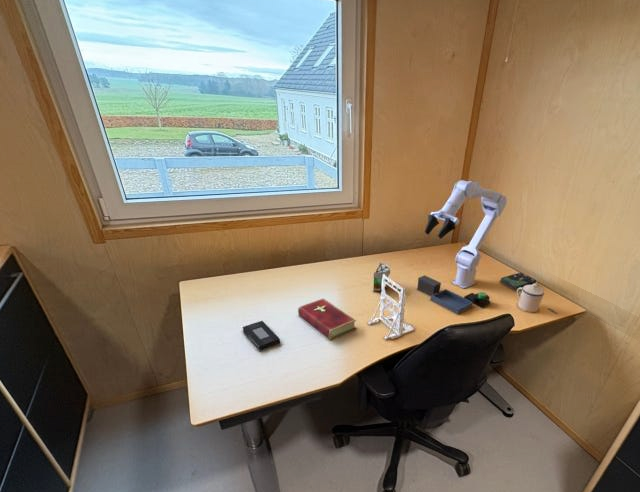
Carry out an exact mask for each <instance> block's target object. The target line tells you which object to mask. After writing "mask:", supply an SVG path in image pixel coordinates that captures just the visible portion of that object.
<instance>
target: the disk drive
mask: <svg viewBox="0 0 640 492" xmlns="http://www.w3.org/2000/svg"><path fill="white" fill-rule="evenodd" d="M499 282H500V283H501V284H502V285H504V286H506V287H508V288H510V289H512V290H514V291H517V289H518V288H520V287H522V288H523V287H524V286H525V285H533V284H534V283H535V284H537V279H534V278H533V277H531V276H529V275H525V274H524V273H522V272H516V273H513V274H510V275H507V276H502V277H501V278H500V281H499Z"/></svg>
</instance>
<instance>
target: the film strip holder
mask: <svg viewBox="0 0 640 492" xmlns="http://www.w3.org/2000/svg"><path fill="white" fill-rule="evenodd" d="M385 279H386V280H388V281H387V282H385ZM390 283H391V284H390ZM386 284H387V286H388V287H389V288H391V289H392V290H394V291H395V292H396V293H397V294H398V297H399V298H398V299H399V301H398V302H397V301H396V300H395V299H393V297H391V296H389V295H388V294H387V292H386V290H385V286H386ZM394 286H395V287H396V288H395V287H394ZM399 290H400V291H399ZM406 298H407V295H406V288H405V287H402V286H401V285H400V284H398V283H397V282H395V281H394V280H392V278H390V277H389V276H388V277H387V276H385V274H383V278H382V292H380V297H379V300H380V301H379V303H378V305H377V307H376V309H375V310H374V313H373V315H372V317H371V319H370V321H368V322H367V323H368V325H369V326H370V325H371V326H372V325H374V324H377V323H379V322H380V321H381V322H382V323H383V324H384V325H385V326H386V327H387V328H389V331H388V333H387V335H385V336H384V340H385V341H386V340H389V339H391V340H394V339H397V338H399V337H402V336H403V335H405V334H408V333H411V332H414V331H415V329H414V327H413V326H412V325H411V324H407V322H404V323H403V321H404V318H405V317H404V316H405V309H404V307H405V306H406ZM385 299H386V300H387V302H386V301H385ZM390 303H391V304H392V307H391V304H390ZM396 308H397V311H396ZM385 309H386V310H387V311H388V312H389V313H391V314H390V315H387V316H385V312H384V310H385ZM378 310H379V317H376V314H377V312H378ZM391 320H392V321H391ZM403 329H404V331H403ZM392 332H393V333H392ZM391 333H392V334H391Z"/></svg>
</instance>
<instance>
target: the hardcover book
mask: <svg viewBox="0 0 640 492" xmlns="http://www.w3.org/2000/svg"><path fill="white" fill-rule="evenodd" d="M297 315H298V316H299V317H300V318H301V319H303V320H304V321H306V322H307V323H308V324H310V325H311V326H312V327H313V328H315V329H316V330H317V331H318V332H320V333H321V334H323V335H324V336H325V337H326V338H327V339H329V340H330V341H332V340H334V339H336V338H338V337H340V336H342V335H345V334H347V333H349V332H350V333H351V332H352V331H354V330H356V327H355V322H356V321H357V320H356V319H355V318H353V317H352V316H351V315H349V314H347V313H345V312H344V311H343V310H342V309H340V308H338V307H337V306H335V305H334V304H333V303H331V302H330V301H329V300H326V299H325V298H320V299H317V300H315V301H312V302H309V303H305V304H303V305H300V306H298V308H297Z"/></svg>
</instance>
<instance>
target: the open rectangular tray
mask: <svg viewBox="0 0 640 492" xmlns="http://www.w3.org/2000/svg"><path fill="white" fill-rule="evenodd" d="M430 302H433V303H435V304H437V305H439V306H441V307H442V308H444V309H446V310H448V311H450V312H452V313H454V314H456V315H460V314H461V313H463V312H465V311H466V312H467V310H469V309H471V308H473V306H474V304H473V302H471V301H469V300H467V299H465V298H464V297H463V296H461V295H459V294H457V293H455V292H453V291H451V290H449V289H446V288H444V289H443V290H440V291H439V292H438V293H436V294H434V295H431V296H430Z"/></svg>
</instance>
